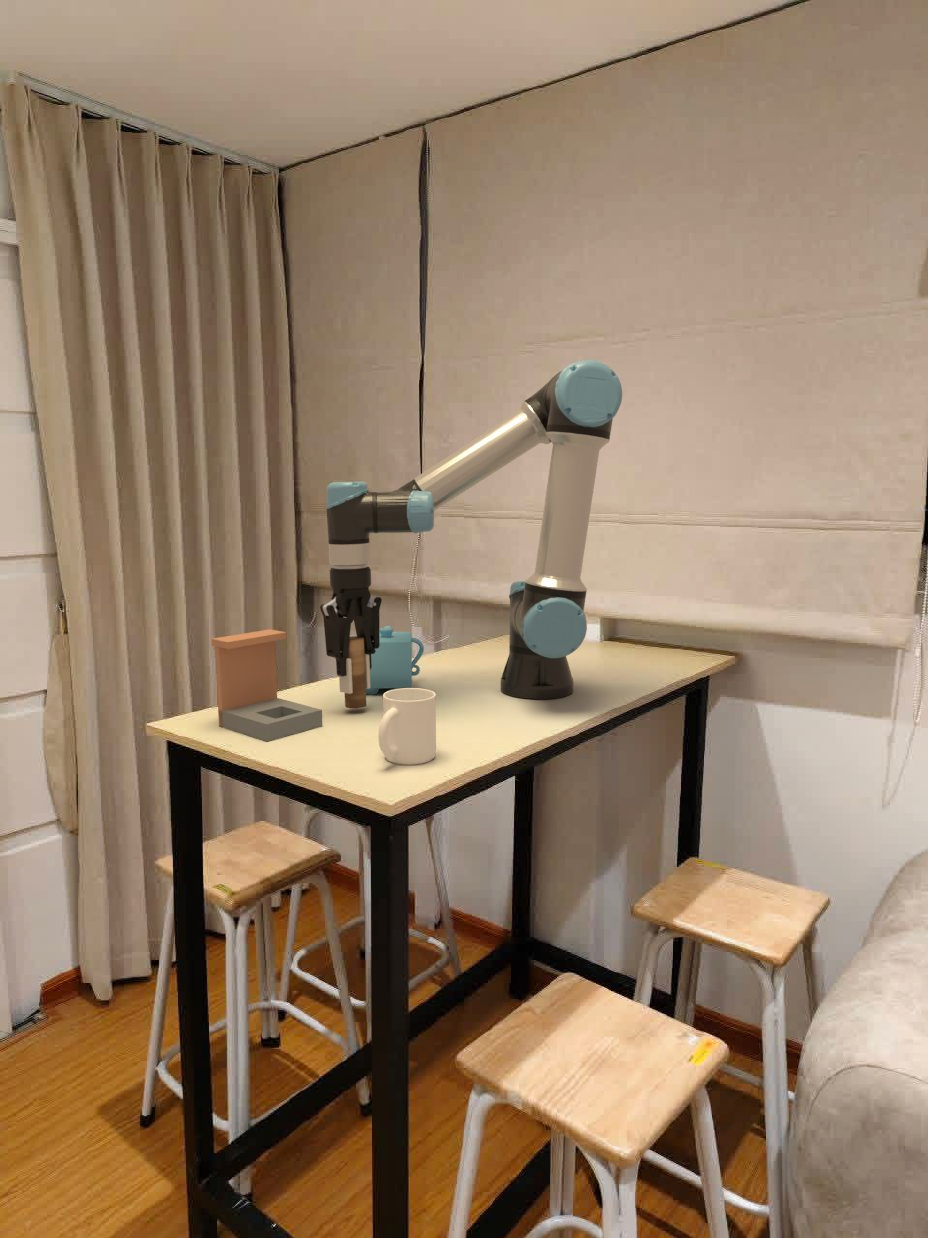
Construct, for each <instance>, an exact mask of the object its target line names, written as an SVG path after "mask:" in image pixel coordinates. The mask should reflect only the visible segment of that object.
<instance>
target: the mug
mask: <svg viewBox="0 0 928 1238" xmlns="http://www.w3.org/2000/svg"><path fill="white" fill-rule="evenodd" d="M382 712H383V713H382V714H383V716H382V717H381V720H380V722H379V723H380V724H379V728H378V745H379V748H380V751H381V752H382V754H383V755H384V758H385V759H386V760H387V761H388V762H390V763H393V764H396V765H401V766H402V765H403V766H413V765H421V764H426V763H428V762H431V761H432V760H433V759H435V757H436V753H437V752H436V751H437V695H436V692H435V691H433V690H430V689H426V688H420V687H419V688H417V687H415V688H414V687H412V688H401V689H395V688H393V689H390V690H387V691H386V692H384V693H383V695H382Z"/></svg>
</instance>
